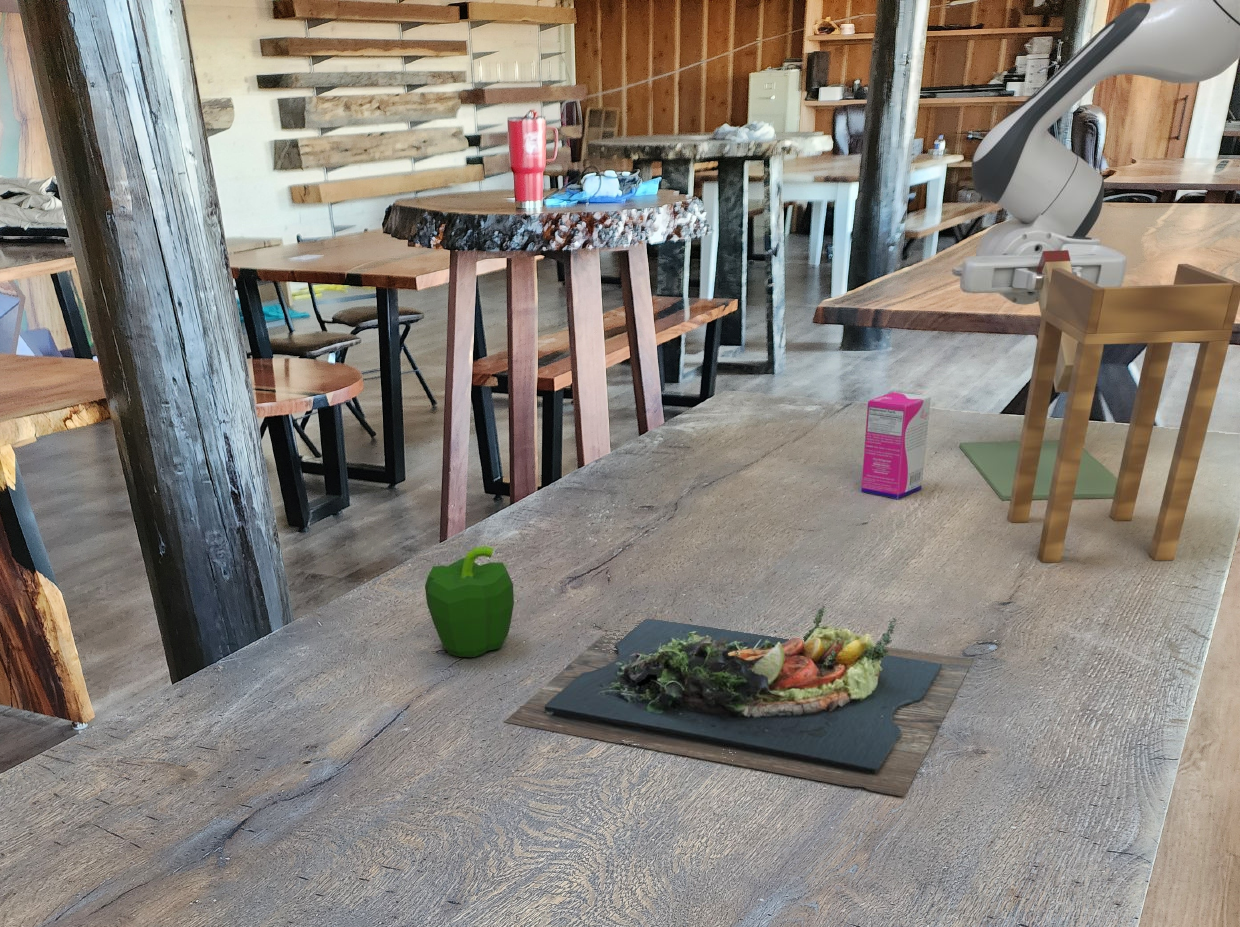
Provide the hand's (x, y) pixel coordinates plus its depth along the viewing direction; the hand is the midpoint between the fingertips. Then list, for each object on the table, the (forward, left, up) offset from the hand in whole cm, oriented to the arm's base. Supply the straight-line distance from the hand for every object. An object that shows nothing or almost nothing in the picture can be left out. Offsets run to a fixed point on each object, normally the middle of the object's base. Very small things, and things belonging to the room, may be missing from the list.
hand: (1056, 281), depth 147 cm
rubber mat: (-2, +2, -22) cm, 23 cm away
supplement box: (+19, +10, -23) cm, 31 cm away
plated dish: (+41, +70, -23) cm, 84 cm away
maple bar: (0, +4, -5) cm, 7 cm away
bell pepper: (+67, +60, -23) cm, 93 cm away
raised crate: (0, +30, -22) cm, 37 cm away
